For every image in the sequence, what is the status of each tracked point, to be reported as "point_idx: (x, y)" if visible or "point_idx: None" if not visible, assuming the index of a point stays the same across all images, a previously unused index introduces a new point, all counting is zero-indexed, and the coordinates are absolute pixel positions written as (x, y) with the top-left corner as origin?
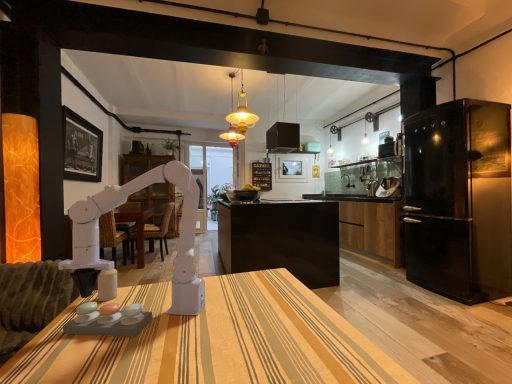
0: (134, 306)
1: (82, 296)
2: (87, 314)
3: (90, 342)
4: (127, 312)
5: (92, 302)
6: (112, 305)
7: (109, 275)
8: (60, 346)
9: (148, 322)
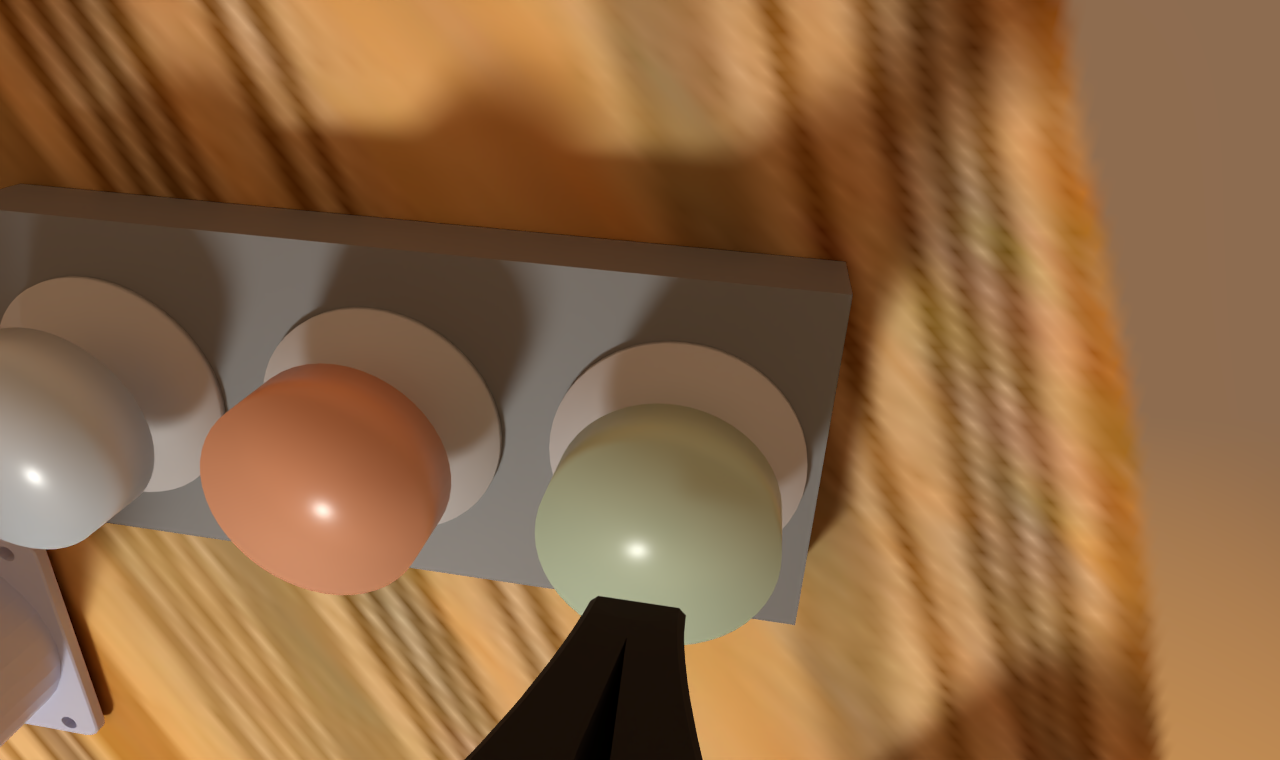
0: (4, 481)
1: (646, 619)
2: None
3: (380, 91)
4: None
5: None
6: (298, 526)
7: None
8: (664, 6)
9: None
